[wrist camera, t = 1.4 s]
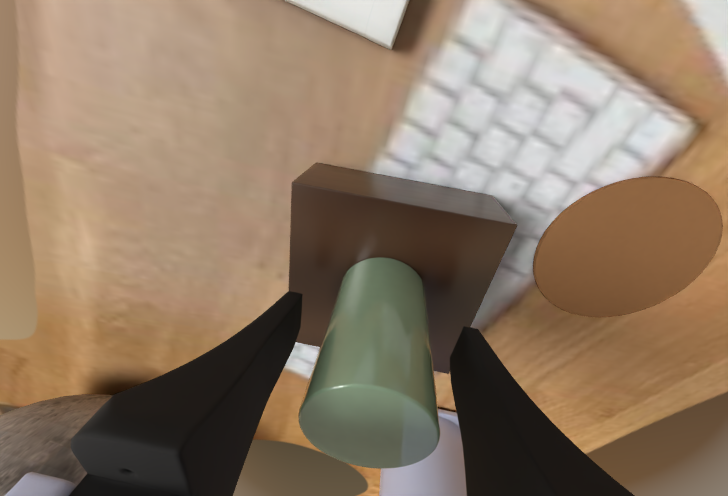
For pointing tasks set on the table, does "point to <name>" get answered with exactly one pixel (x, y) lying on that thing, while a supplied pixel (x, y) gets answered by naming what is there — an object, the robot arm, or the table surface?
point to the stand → (394, 245)
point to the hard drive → (361, 16)
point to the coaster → (627, 246)
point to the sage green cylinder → (374, 371)
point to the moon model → (44, 438)
